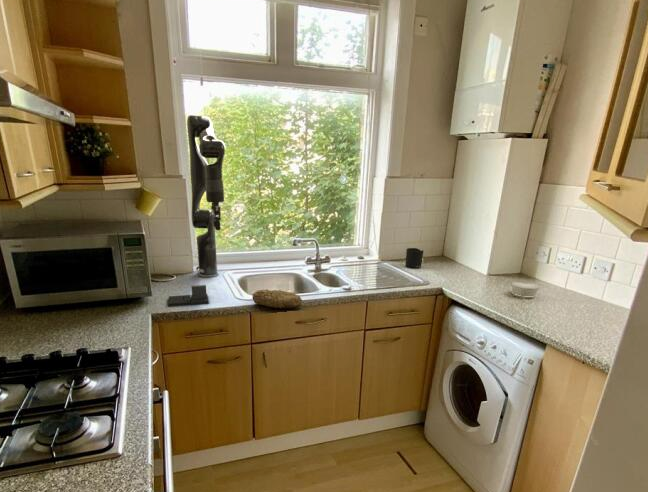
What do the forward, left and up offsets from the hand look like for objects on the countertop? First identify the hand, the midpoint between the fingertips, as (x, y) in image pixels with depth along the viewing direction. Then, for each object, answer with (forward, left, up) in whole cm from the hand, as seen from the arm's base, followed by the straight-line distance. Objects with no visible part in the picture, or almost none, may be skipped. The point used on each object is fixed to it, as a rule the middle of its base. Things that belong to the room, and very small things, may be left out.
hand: (217, 228), depth 186 cm
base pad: (+15, -19, -28) cm, 37 cm away
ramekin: (+41, +135, -28) cm, 144 cm away
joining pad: (+15, -12, -28) cm, 34 cm away
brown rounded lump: (+30, +21, -28) cm, 46 cm away
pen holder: (-18, +111, -28) cm, 116 cm away
